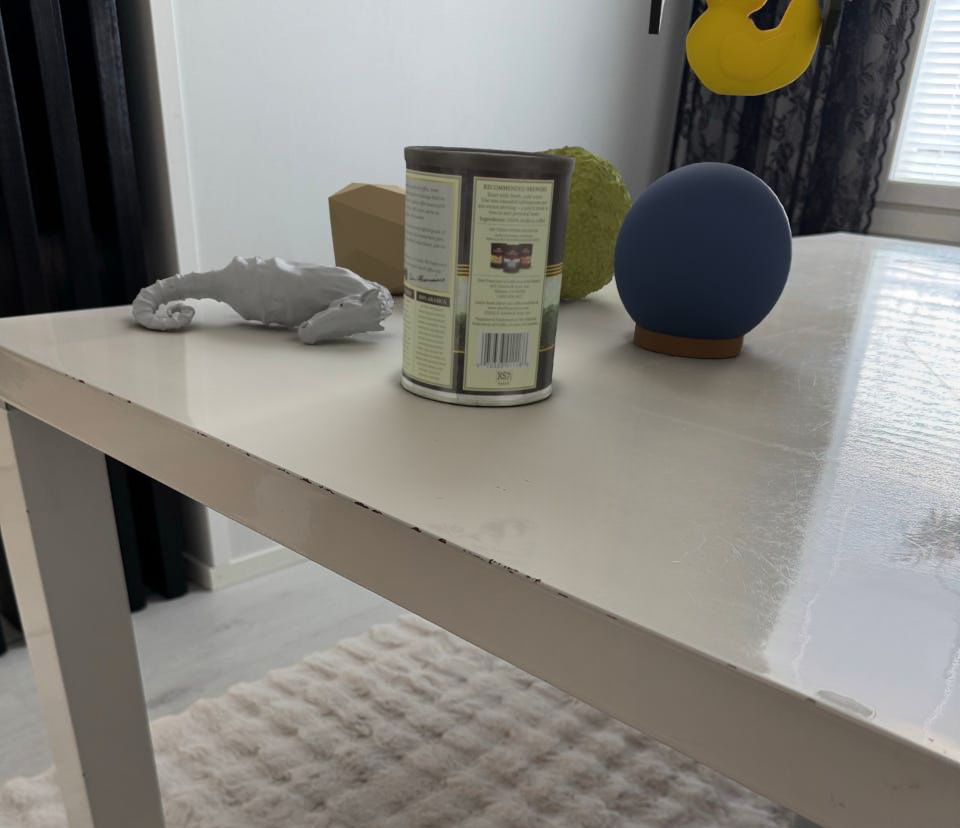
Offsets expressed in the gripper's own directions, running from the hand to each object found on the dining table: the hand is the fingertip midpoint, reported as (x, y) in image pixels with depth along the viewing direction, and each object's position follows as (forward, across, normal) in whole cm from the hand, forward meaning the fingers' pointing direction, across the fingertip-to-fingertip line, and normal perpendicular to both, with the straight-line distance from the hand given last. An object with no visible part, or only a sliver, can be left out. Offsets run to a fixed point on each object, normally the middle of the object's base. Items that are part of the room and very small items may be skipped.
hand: (741, 22), depth 67 cm
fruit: (+1, +14, -32) cm, 35 cm away
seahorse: (+22, +33, -10) cm, 41 cm away
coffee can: (+29, +14, -3) cm, 32 cm away
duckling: (+1, 0, -5) cm, 5 cm away
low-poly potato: (+7, +28, -26) cm, 39 cm away
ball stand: (+14, 0, -18) cm, 23 cm away
